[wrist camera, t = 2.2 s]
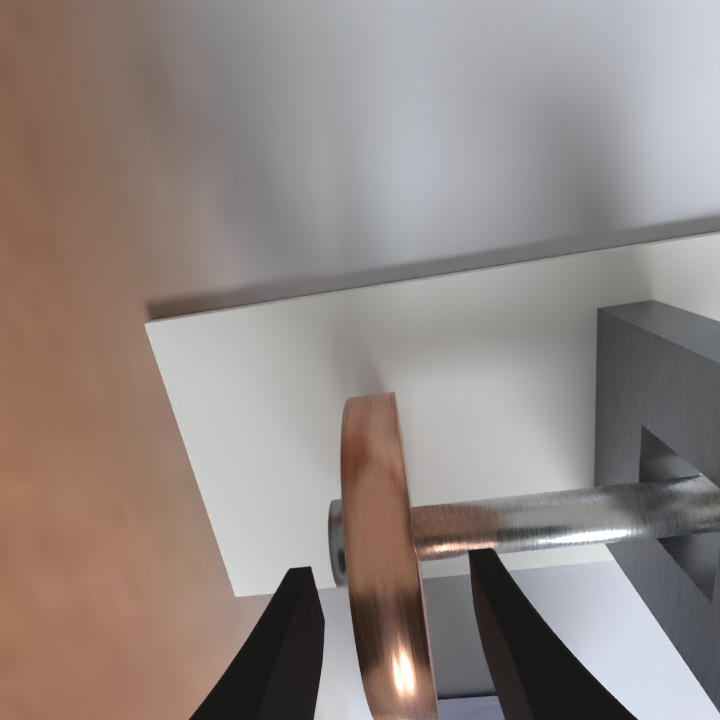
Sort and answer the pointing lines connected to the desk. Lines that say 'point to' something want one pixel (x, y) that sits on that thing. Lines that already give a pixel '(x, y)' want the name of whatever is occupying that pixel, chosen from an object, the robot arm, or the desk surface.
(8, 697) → the desk surface
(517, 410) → the base board
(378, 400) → the bolt with copper washer
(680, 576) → the square hole plate
